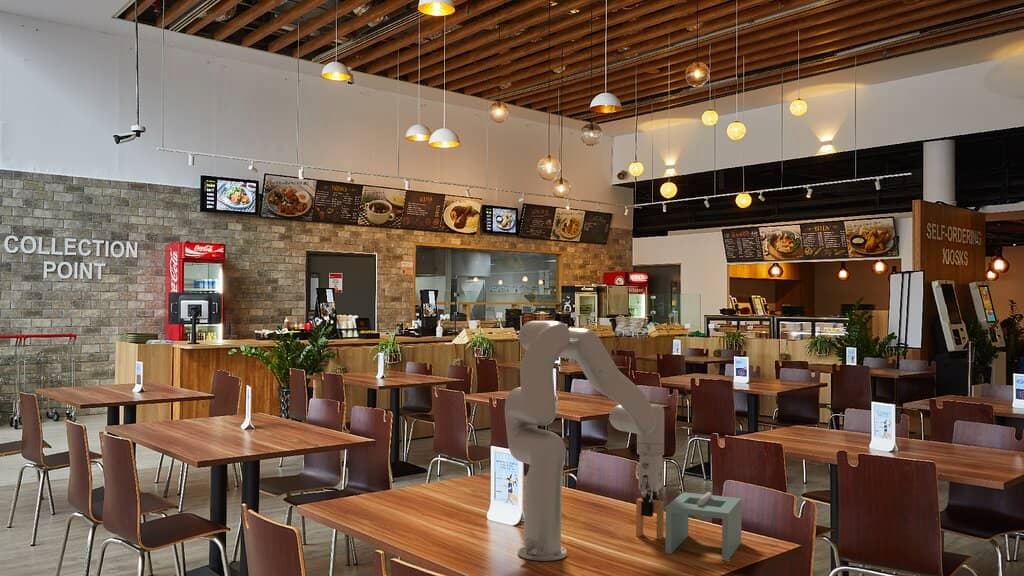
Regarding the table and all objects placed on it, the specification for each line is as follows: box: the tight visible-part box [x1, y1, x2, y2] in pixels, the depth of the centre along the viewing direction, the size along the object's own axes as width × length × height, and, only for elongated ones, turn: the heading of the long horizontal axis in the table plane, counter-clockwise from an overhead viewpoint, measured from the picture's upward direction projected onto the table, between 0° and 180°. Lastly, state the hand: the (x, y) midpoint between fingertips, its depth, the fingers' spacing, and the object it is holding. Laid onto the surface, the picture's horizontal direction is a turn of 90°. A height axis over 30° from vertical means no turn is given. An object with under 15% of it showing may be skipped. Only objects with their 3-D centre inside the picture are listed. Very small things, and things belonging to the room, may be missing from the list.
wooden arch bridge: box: [635, 497, 665, 540], centre depth 224 cm, size 7×3×10 cm, turn 65°
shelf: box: [664, 491, 742, 562], centre depth 214 cm, size 20×16×14 cm
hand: (649, 513), depth 224 cm, fingers open, 5 cm apart
